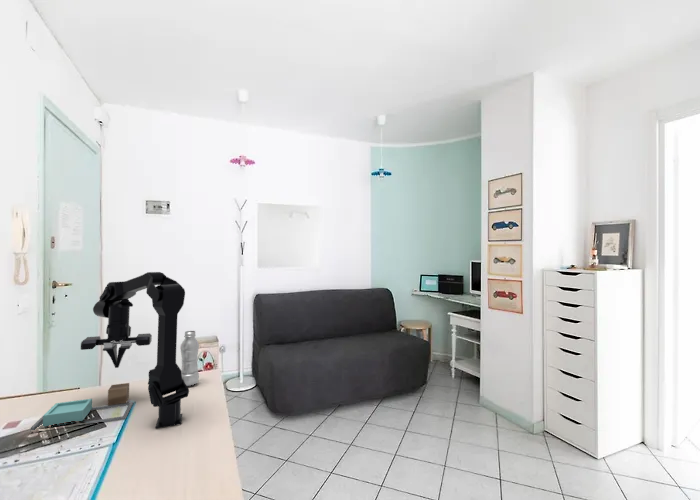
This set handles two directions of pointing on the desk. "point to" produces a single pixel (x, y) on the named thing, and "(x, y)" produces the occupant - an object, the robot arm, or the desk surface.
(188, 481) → the desk surface
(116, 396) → the walnut block
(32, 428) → the gray metal rectangular frame
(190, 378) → the plastic bottle
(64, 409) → the teal square tray
